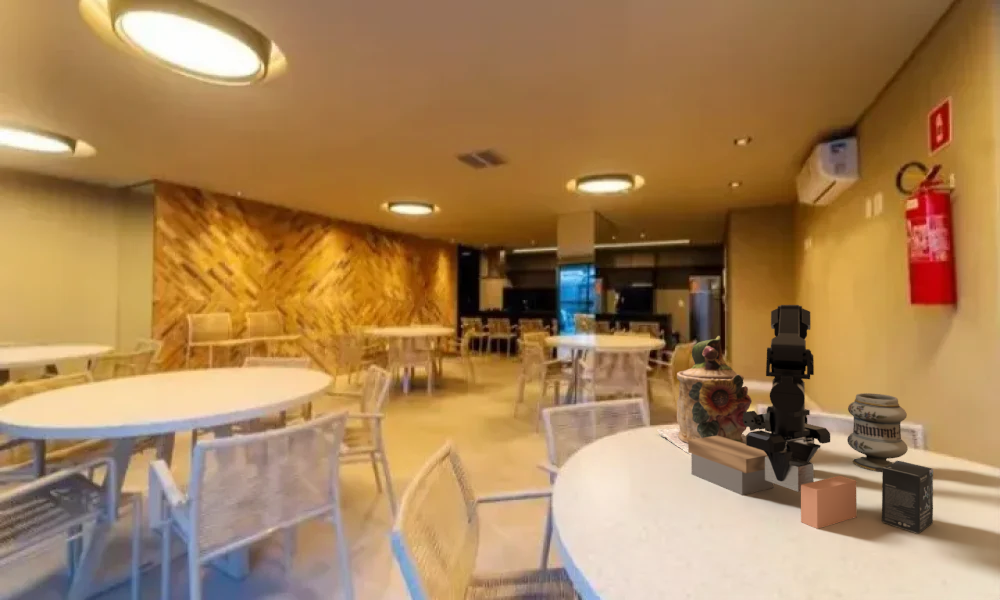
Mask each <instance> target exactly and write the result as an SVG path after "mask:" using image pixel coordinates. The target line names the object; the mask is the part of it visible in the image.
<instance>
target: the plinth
mask: <svg viewBox="0 0 1000 600" xmlns="http://www.w3.org/2000/svg"><path fill="white" fill-rule="evenodd" d="M691 475H692V476H695V477H698V478H699V479H702V480H704V481H707V482H710V483H712V484H715V485H717V486H719V487H722V488H724V489H726V490H729V491H732V492H734V493H736V494H739V495H741V496H745V495H748V494H752V493H756V492H762V491H766V490H770V489H774V483H772V482H769V481H766V480H765V470H760V471H755V472H750V473H744V472H741V471H738V470H736V469H733V468H730V467H727V466H725V465H722V464H719V463H716V462H714V461H711V460H708V459H706V458H703V457H700V456H697V455H695V454H692V455H691Z"/></svg>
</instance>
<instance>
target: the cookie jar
mask: <svg viewBox="0 0 1000 600" xmlns="http://www.w3.org/2000/svg"><path fill="white" fill-rule="evenodd" d="M720 341H721V336H720V335H717V336H716V338H714V339H713V338H712V339H706V340H702V341H699V342H697V343H695V344H694V345H693V346H692V349H691V356H692V360H693V362H694V364H693V366H691V368H688V369H685V370H681V371H678V372H677V373H676V378H677V380H678V381H679V385H678V398H677V400H676V401H677V402H676V405H677V407H676V408H677V411H676V412H677V413H676V420H677V424H678V427H679V428H665V429H664V428H657V433H658V434H659V435H660V437H662V438H665V439H666V440H668V441H669V442H670V443H671V442H672V443H671V444H673V445H675V446H676V447H678V448H679V449H681V451H684V452H685V453H686V454H688V455H690V456H692V453H689V452H688V440H691V439H698V438H704V437H711V436H721V437H724V438H728V439H731V440H734V441H738V442H741V443H744V444H746V434H744V432H745V431H746V430H747V428H748V427H746V426H745V425H744V423H743V414H744V412H748V410H749V409H750V406H751V404H752V400H753V399H752V398H751V396H750V395H749V394H748V392H749V388H748V386H743V385H744V375H742V374H738V373H737V372H736V371H734V370H733V368H732V367H731V366H729V365H728V364H727V363H726V362H725V360H724V356H723V354H722V352H723V351H722V348H721V347H722V346H721V344H720Z"/></svg>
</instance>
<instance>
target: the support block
mask: <svg viewBox="0 0 1000 600" xmlns="http://www.w3.org/2000/svg"><path fill="white" fill-rule="evenodd" d="M765 480H766V481H769V482H772V483H773V484H775V485H778V486H780V487H783V488H786V489H789V490H792V491H794V492H797V493H798V492H801V485H802V484H807V483H811V482H815V481H814V480H815V479H814V462H807V461H804V460H800V459H797V458H793V457H791V458H790V461H789V464H788V468H787V471H786V475H785V477H784V480H783V481H778V480H777V479H776V476H775V473H774V470H773V468H772V465H771V462H770V460H769V458H768V456H766V457H765Z"/></svg>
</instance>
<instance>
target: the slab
mask: <svg viewBox="0 0 1000 600" xmlns="http://www.w3.org/2000/svg"><path fill="white" fill-rule="evenodd" d="M688 452H689V453H692V454H695V455H697V456H700V457H703V458H706V459H708V460H711V461H714V462H716V463H719V464H722V465H725V466H727V467H730V468H733V469H736V470H738V471H741V472H744V473H750V472H755V471H760V470H765V457H766V456H767V454H766V453H765V452H764V451H763V450H760V449H757V448H753V447H750V446H747V445H746V444H744V443H741V442H738V441H734V440H731V439H728V438H724V437H721V436H711V437H704V438H698V439H691V440H688Z"/></svg>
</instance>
